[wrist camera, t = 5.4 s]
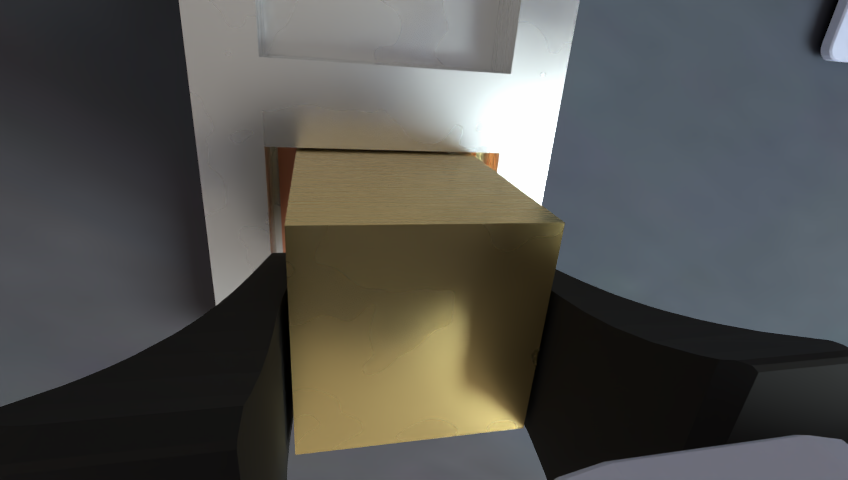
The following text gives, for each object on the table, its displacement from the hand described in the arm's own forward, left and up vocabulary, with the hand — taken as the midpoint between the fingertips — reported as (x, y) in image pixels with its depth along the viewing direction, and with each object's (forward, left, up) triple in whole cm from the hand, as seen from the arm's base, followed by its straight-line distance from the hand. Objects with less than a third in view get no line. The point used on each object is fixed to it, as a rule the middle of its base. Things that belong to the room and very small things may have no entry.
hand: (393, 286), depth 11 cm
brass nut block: (0, -1, -3) cm, 3 cm away
